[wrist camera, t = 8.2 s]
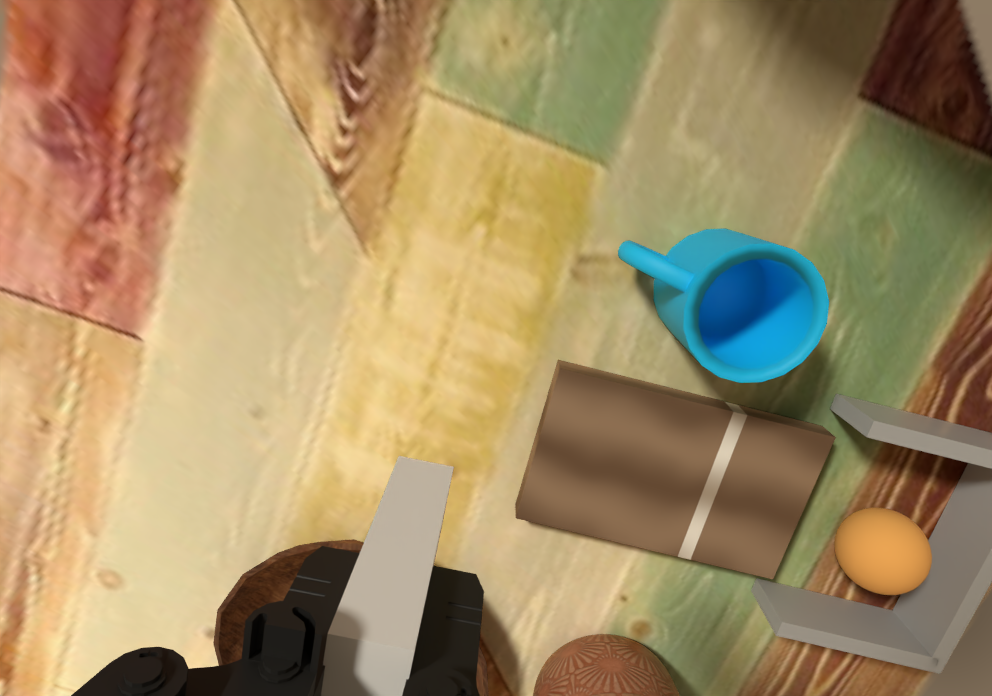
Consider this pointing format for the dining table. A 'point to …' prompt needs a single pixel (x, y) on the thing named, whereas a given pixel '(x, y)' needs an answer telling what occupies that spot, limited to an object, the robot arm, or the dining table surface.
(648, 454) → the board
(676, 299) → the mug
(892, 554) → the ball
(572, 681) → the planter
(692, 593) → the dining table surface
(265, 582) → the bowl
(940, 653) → the grey frame
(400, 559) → the robot arm
